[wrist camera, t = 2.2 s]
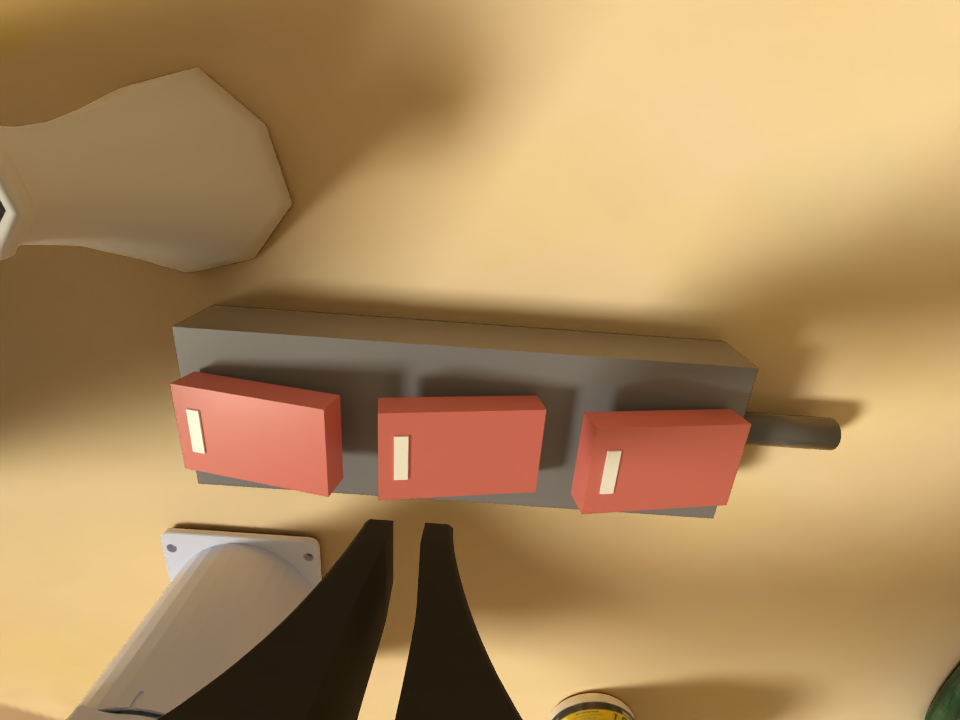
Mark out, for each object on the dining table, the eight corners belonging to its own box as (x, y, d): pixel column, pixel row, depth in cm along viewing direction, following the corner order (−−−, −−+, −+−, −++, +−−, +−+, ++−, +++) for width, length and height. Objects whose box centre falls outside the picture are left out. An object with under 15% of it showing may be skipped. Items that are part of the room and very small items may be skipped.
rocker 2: (527, 473, 21) (536, 493, 19) (378, 480, 19) (378, 501, 18) (537, 395, 19) (546, 410, 18) (378, 397, 18) (377, 414, 17)
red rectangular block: (708, 486, 21) (727, 506, 19) (570, 493, 19) (582, 515, 18) (730, 408, 19) (752, 425, 18) (584, 412, 18) (597, 429, 17)
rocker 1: (343, 478, 19) (327, 498, 18) (207, 452, 20) (183, 469, 19) (340, 395, 18) (322, 410, 17) (194, 371, 19) (168, 384, 18)
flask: (203, 28, 18) (-114, -118, 8) (326, 211, 20) (185, 256, 11) (62, 141, 19) (-341, 124, 10) (192, 300, 21) (-37, 408, 12)
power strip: (789, 484, 24) (834, 532, 21) (232, 446, 24) (193, 489, 21) (838, 349, 22) (897, 381, 18) (213, 305, 21) (165, 330, 18)
